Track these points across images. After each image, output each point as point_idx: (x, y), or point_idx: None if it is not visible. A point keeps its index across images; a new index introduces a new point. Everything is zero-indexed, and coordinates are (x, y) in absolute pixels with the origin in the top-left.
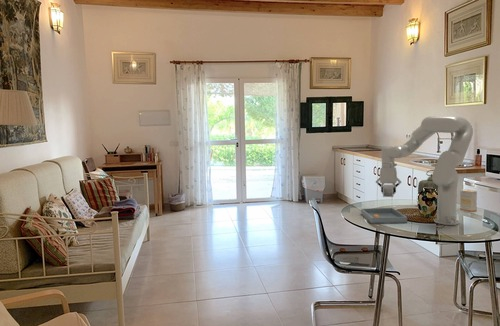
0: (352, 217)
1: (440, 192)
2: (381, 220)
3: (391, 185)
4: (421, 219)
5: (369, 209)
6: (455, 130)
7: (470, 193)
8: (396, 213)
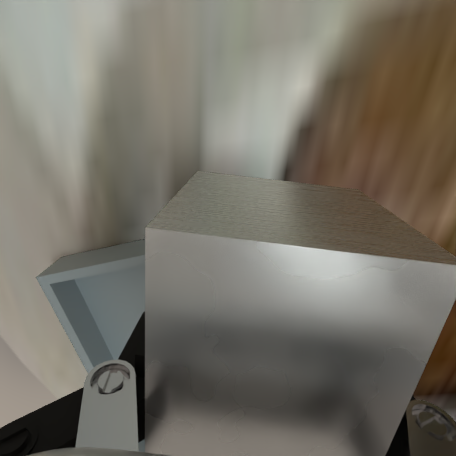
0: (32, 341)
1: None
2: None
3: (354, 400)
4: (435, 344)
5: (101, 270)
6: None
7: None
8: None
